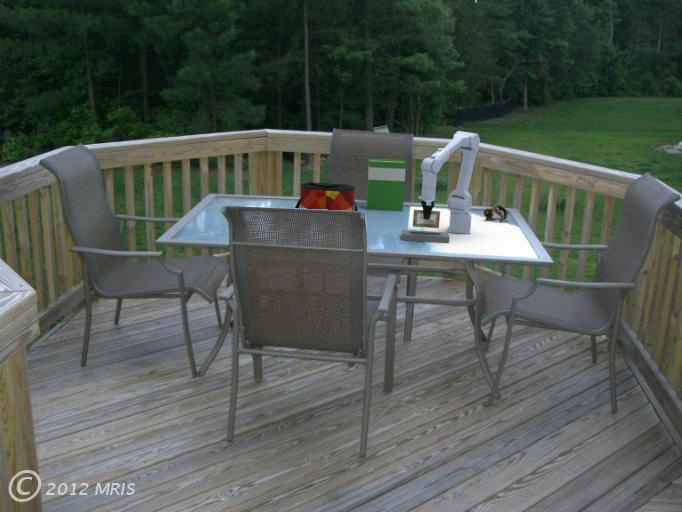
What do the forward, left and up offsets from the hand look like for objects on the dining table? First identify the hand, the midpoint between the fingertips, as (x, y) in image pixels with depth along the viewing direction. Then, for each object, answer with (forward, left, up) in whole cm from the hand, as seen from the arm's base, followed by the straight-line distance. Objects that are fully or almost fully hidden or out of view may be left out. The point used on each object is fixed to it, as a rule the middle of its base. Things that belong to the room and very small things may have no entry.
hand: (426, 218), depth 315 cm
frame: (0, 0, -4) cm, 4 cm away
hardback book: (+18, -53, -9) cm, 57 cm away
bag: (+45, -28, -9) cm, 54 cm away
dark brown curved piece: (-35, -43, -9) cm, 56 cm away
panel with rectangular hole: (0, 0, -9) cm, 9 cm away
